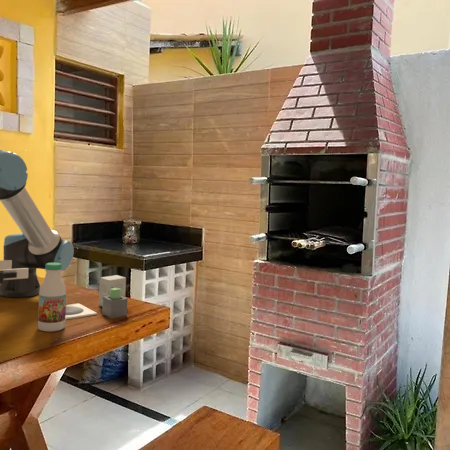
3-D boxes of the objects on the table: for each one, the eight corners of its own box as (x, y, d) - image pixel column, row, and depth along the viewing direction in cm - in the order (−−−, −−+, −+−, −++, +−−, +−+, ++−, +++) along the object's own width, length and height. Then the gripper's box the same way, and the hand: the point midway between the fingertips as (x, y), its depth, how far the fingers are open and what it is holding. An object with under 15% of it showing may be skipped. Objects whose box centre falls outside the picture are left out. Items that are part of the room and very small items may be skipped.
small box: (115, 302, 174) (117, 274, 174) (125, 305, 171) (126, 277, 170) (98, 305, 168) (99, 277, 167) (107, 308, 165) (108, 280, 164)
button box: (102, 313, 158) (103, 296, 158) (117, 311, 162) (118, 294, 162) (110, 318, 154) (111, 300, 153) (126, 315, 158) (127, 298, 157)
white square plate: (39, 310, 158) (39, 308, 158) (78, 304, 167) (78, 303, 167) (56, 321, 148) (56, 318, 147) (96, 314, 157) (96, 312, 157)
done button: (107, 302, 158) (108, 288, 157) (117, 301, 160) (117, 287, 160) (112, 305, 155) (113, 290, 155) (122, 304, 158) (123, 289, 157)
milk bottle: (33, 327, 140) (35, 262, 139) (58, 322, 146) (60, 260, 144) (44, 334, 135) (46, 266, 133) (69, 329, 140) (71, 264, 139)
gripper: (-78, 279, 126) (4, 273, 141) (-57, 299, 108) (35, 290, 123) (-77, 252, 126) (5, 249, 140) (-56, 268, 108) (36, 262, 122)
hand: (19, 268), depth 131 cm, fingers open, 13 cm apart
